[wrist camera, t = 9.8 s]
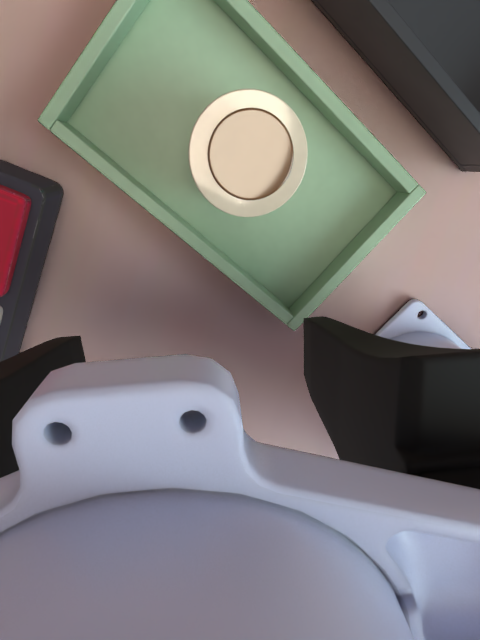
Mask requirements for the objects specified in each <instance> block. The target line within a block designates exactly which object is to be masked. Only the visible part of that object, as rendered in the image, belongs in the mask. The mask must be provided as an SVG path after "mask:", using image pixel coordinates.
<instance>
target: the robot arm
mask: <svg viewBox="0 0 480 640" xmlns="http://www.w3.org/2000/svg"><path fill="white" fill-rule="evenodd" d="M422 310H423V314H422V316H420V317H417V315H418V313H419V312H420V311H422ZM304 376H305V379H306V383H307V387H308V390H309V393H310V396H311V399H312V401H313V403H314V405H315V407H316V409H317V411H318V413H319V416H320V418H321V420H322V422H323V424H324V426H325V428H326V430H327V432H328V434H329V436H330V438H331V440H332V442H333V444H334V446H335V449H336V451H337V454H338V456H339V459H340V460H339V459H334V458H330V457H325V456H320V455H316V454H311V453H306V452H301V451H297V450H292V449H287V448H283V447H278V446H273V445H268V444H264V443H259V442H256V441H255V440H253V439H252V438H251V437H250V436H249V435H247V434H246V432H245V430H244V429H243V424H242V416H241V408H240V400H239V393H238V390H237V388H236V385H235V383H234V380H233V377H232V375H231V373H230V372H229V371H228V370H226V369H225V368H224V367H222V366H221V365H220V364H219V363H217V362H216V361H215V360H213V359H212V358H208V357H201V356H195V355H188V354H181V355H169V356H156V357H144V358H132V359H120V360H107V361H95V362H86V361H85V356H84V351H83V347H82V342H81V337H80V336H71V337H60V338H55V339H52V340H49V341H47V342H44V343H42V344H39V345H37V346H35V347H33V348H30V349H28V350H26V351H24V352H22V353H19V354H17V355H15V356H13V357H10V358H8V359H6V360H3V361H1V362H0V640H480V349H471V348H470V347H469V346H468V345H466V344H465V343H464V342H463V341H462V340H461V339H460V338H459V337H458V336H457V335H456V334H455V333H454V332H453V331H452V330H451V329H450V328H449V327H448V326H447V325H446V324H445V323H443V322H442V321H441V320H440V319H439V318H438V317H437V316H436V315H435V314H434V313H433V312H432V311H431V310H430V309H429V308H428V307H427V306H426V305H425V304H424V303H423V302H421V301H419V300H418V299H412V300H410V301H409V302H407V303H406V304H405V305H404V306H403V307H402V308H401V309H400V310H399V311H398V312H397V313H396V314H395V315H394V316H393V317H392V318H391V319H390V320H389V321H388V322H387V323H386V324H385V325H384V326H383V327H382V328H381V329H380V330H379V331H378V332H377V333H376V334H375V335H374V334H371V333H368V332H365V331H362V330H359V329H357V328H354V327H352V326H349V325H347V324H344V323H341V322H339V321H336V320H334V319H331V318H328V317H311V318H304Z"/></svg>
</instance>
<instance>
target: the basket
mask: <svg viewBox="0 0 480 640" xmlns="http://www.w3.org/2000/svg"><path fill="white" fill-rule="evenodd" d="M312 1H313V2H314V3H315V5H316V6H317V7H318V8H319V9H320V10H321V11H322V12H323V14H324V15H325V16H326V17H327V18H328V19H329V20H330V22H331V23H332V24H333V25H334V26H335V27H336V28H337V30H338V31H339V32H340V33H341V34H342V35H343V36H344V37H345V39H346V40H347V41H348V42H349V43H350V44H351V45H352V47H353V48H354V49H355V50H356V51H357V52H358V53H359V55H360V56H361V57H362V58H363V59H364V60H365V61H366V63H367V64H368V65H369V66H370V67H371V68H372V69H373V70H374V72H375V73H376V74H377V75H378V76H379V77H380V78H381V80H382V81H383V82H384V83H385V84H386V85H387V86H388V88H389V89H390V90H391V91H392V92H393V93H394V94H395V95H396V97H397V98H398V99H399V100H400V101H401V102H402V103H403V105H404V106H405V107H406V108H407V109H408V110H409V111H410V113H411V114H412V115H413V116H414V117H415V118H416V119H417V120H418V122H419V123H420V124H421V125H422V126H423V127H424V128H425V130H426V131H427V132H428V133H429V134H430V135H431V136H432V138H433V139H434V140H435V141H436V142H437V143H438V144H439V146H440V147H441V148H442V149H443V150H444V151H445V152H446V153H447V155H448V156H449V157H450V158H451V159H452V160H453V161H454V163H455V164H456V165H457V166H458V167H459V168H460V169H461V171H471V172H480V0H312Z"/></svg>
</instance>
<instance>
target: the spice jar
mask: <svg viewBox="0 0 480 640" xmlns="http://www.w3.org/2000/svg"><path fill="white" fill-rule="evenodd" d="M188 158H189V166H190V170H191V174H192V177H193V179H194V182H195V184H196V186H197V187H198V189H199V191H200V192H201V193H202V195H203V196H204V197H205V198H206V199H207V200H208V201H209V202H210V203H211V204H212V205H213V206H215V207H216V208H218V209H220V210H221V211H223V212H225V213H228V214H230V215H234V216H239V217H256V216H261V215H265V214H268V213H270V212H272V211H274V210H276V209H278V208H279V207H281V206H282V205H283V204H285V203H286V202H287V201H288V200H289V199H290V198H291V197H292V196H293V194H294V193H295V192H296V190H297V189H298V187H299V185H300V183H301V181H302V179H303V177H304V173H305V170H306V165H307V159H308V147H307V140H306V135H305V132H304V129H303V126H302V124H301V122H300V120H299V118H298V117H297V115H296V114H295V112H294V111H293V110H292V109H291V107H290V106H289V105H288V104H286V103H285V102H284V101H283V100H282V99H280V98H279V97H277V96H275V95H273V94H271V93H269V92H266V91H263V90H258V89H238V90H234V91H231V92H228V93H225V94H223V95H221V96H220V97H218V98H217V99H215V100H214V101H212V102H211V103H210V104H209V105H208V106H207V107H206V108H205V109H204V110H203V111H202V113H201V114H200V116H199V117H198V119H197V121H196V123H195V125H194V127H193V130H192V133H191V136H190V141H189V149H188Z"/></svg>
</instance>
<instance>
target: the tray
mask: <svg viewBox="0 0 480 640" xmlns="http://www.w3.org/2000/svg"><path fill="white" fill-rule="evenodd" d="M238 89H258V90H263V91H266V92H269V93H271V94H273V95H275V96H277V97H279V98H280V99H282V100H283V101H284V102H285V103H286V104H288V105H289V106H290V107H291V109H292V110H293V111H294V112H295V114H296V115H297V117H298V118H299V120H300V122H301V124H302V126H303V129H304V132H305V135H306V140H307V147H308V159H307V165H306V170H305V173H304V177H303V179H302V181H301V183H300V185H299V187H298V189H297V190H296V192H295V193H294V194H293V196H292V197H291V198H290V199H289V200H288V201H287V202H286V203H285V204H283V205H282V206H281V207H279V208H278V209H276V210H274V211H272V212H270V213H268V214H265V215H261V216H256V217H239V216H234V215H230V214H228V213H225V212H223V211H221V210H220V209H218V208H216V207H215V206H213V205H212V204H211V203H210V202H209V201H208V200H207V199H206V198H205V197H204V196H203V195H202V193H201V192H200V191H199V189H198V187H197V186H196V184H195V182H194V179H193V177H192V174H191V170H190V166H189V158H188V149H189V141H190V136H191V133H192V130H193V127H194V125H195V123H196V121H197V119H198V117H199V116H200V114H201V113H202V111H203V110H204V109H205V108H206V107H207V106H208V105H209V104H210V103H211V102H212V101H214V100H215V99H217V98H218V97H220V96H221V95H223V94H225V93H228V92H231V91H234V90H238ZM38 122H39V123H41V124H42V125H43V126H44V127H46V128H47V129H48V130H50V131H51V132H52V133H53V134H54V135H55V136H57V137H58V138H59V139H60V140H61V141H63V142H64V143H65V144H66V145H67V146H69V147H70V148H71V149H72V150H74V151H75V152H76V153H77V154H78V155H80V156H81V157H82V158H83V159H85V160H86V161H87V162H88V163H89V164H91V165H92V166H93V167H94V168H96V169H97V170H98V171H99V172H100V173H102V174H103V175H104V176H105V177H107V178H108V179H109V180H110V181H111V182H113V183H114V184H115V185H116V186H117V187H119V188H120V189H121V190H122V191H124V192H125V193H126V194H127V195H128V196H130V197H131V198H132V199H133V200H135V201H136V202H137V203H138V204H139V205H141V206H142V207H143V208H144V209H146V210H147V211H148V212H149V213H150V214H152V215H153V216H154V217H155V218H157V219H158V220H159V221H160V222H161V223H163V224H164V225H165V226H166V227H167V228H169V229H170V230H171V231H172V232H174V233H175V234H176V235H177V236H178V237H180V238H181V239H182V240H183V241H185V242H186V243H187V244H188V245H189V246H191V247H192V248H193V249H194V250H196V251H197V252H198V253H199V254H200V255H202V256H203V257H204V258H205V259H206V260H208V261H209V262H210V263H211V264H213V265H214V266H215V267H216V268H217V269H219V270H220V271H221V272H222V273H224V274H225V275H226V276H227V277H228V278H230V279H231V280H232V281H233V282H235V283H236V284H237V285H238V286H239V287H241V288H242V289H243V290H244V291H246V292H247V293H248V294H249V295H250V296H252V297H253V298H254V299H255V300H256V301H258V302H259V303H260V304H261V305H263V306H264V307H265V308H266V309H267V310H269V311H270V312H271V313H272V314H274V315H275V316H276V317H277V318H278V319H280V320H281V321H282V322H283V323H285V324H287V326H288V327H289V328H291V329H292V330H293V331H295V330H296V329H297V328H298V327H299V326H300V325H301V324H302V323H303V322H304V318H308V317H309V316H310V315H311V314H312V312H313V311H314V310H315V309H316V308H317V307H318V306H319V305H320V304H321V303H322V302H323V301H324V300H325V299H326V298H327V297H328V296H329V295H330V294H331V293H332V291H333V290H334V289H335V288H336V287H337V286H338V285H339V284H340V283H341V282H342V281H343V280H344V279H345V278H346V277H347V276H348V275H349V274H350V273H351V271H352V270H353V269H354V268H355V267H356V266H357V265H358V264H359V263H360V262H361V261H362V260H363V259H364V258H365V257H366V256H367V255H368V254H369V253H370V251H371V250H372V249H373V248H374V247H375V246H376V245H377V244H378V243H379V242H380V241H381V240H382V239H383V238H384V237H385V236H386V235H387V234H388V233H389V232H390V230H391V229H392V228H393V227H394V226H395V225H396V224H397V223H398V222H399V221H400V220H401V219H402V218H403V217H404V216H405V215H406V214H407V213H408V212H409V210H410V209H411V208H412V207H413V206H414V205H415V204H416V203H417V202H418V201H419V200H420V199H421V198H422V197H423V196H424V195H425V194H426V191H425V190H424V189H423V188H422V187H421V186H420V185H418V183H417V182H416V181H415V180H414V179H413V177H412V176H411V175H410V174H409V173H408V172H407V171H406V170H405V169H404V168H403V167H402V166H401V165H400V164H399V162H398V161H397V160H396V159H395V158H394V157H393V156H392V155H391V154H390V153H389V152H388V151H387V150H386V149H385V147H384V146H383V145H382V144H381V143H380V142H379V141H378V140H377V139H376V138H375V137H374V136H373V135H372V133H371V132H370V131H369V130H368V129H367V128H366V127H365V126H364V125H363V124H362V123H361V122H360V121H359V120H358V118H357V117H356V116H355V115H354V114H353V113H352V112H351V111H350V110H349V109H348V108H347V107H346V106H345V104H344V103H343V102H342V101H341V100H340V99H339V98H338V97H337V96H336V95H335V94H334V93H333V92H332V91H331V89H330V88H329V87H328V86H327V85H326V84H325V83H324V82H323V81H322V80H321V79H320V78H319V77H318V75H317V74H316V73H315V72H314V71H313V70H312V69H311V68H310V67H309V66H308V65H307V64H306V63H305V62H304V60H303V59H302V58H301V57H300V56H299V55H298V54H297V53H296V52H295V51H294V50H293V49H292V48H291V47H290V45H289V44H288V43H287V42H286V41H285V40H284V39H283V38H282V37H281V36H280V35H279V34H278V33H277V31H276V30H275V29H274V28H273V27H272V26H271V25H270V24H269V23H268V22H267V21H266V20H265V19H264V18H263V16H262V15H261V14H260V13H259V12H258V11H257V10H256V9H255V8H254V7H253V6H252V5H251V4H250V2H249V1H248V0H116V2H115V3H114V5H113V6H112V8H111V9H110V11H109V12H108V14H107V15H106V17H105V18H104V20H103V21H102V23H101V24H100V26H99V28H98V29H97V31H96V32H95V34H94V35H93V37H92V38H91V40H90V41H89V43H88V44H87V46H86V47H85V49H84V50H83V52H82V53H81V55H80V56H79V58H78V59H77V61H76V62H75V64H74V65H73V67H72V68H71V70H70V71H69V73H68V74H67V76H66V77H65V79H64V80H63V82H62V83H61V85H60V87H59V88H58V90H57V91H56V93H55V94H54V96H53V97H52V99H51V100H50V102H49V103H48V105H47V106H46V108H45V109H44V111H43V112H42V114H41V115H40V117H39V118H38Z"/></svg>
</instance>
